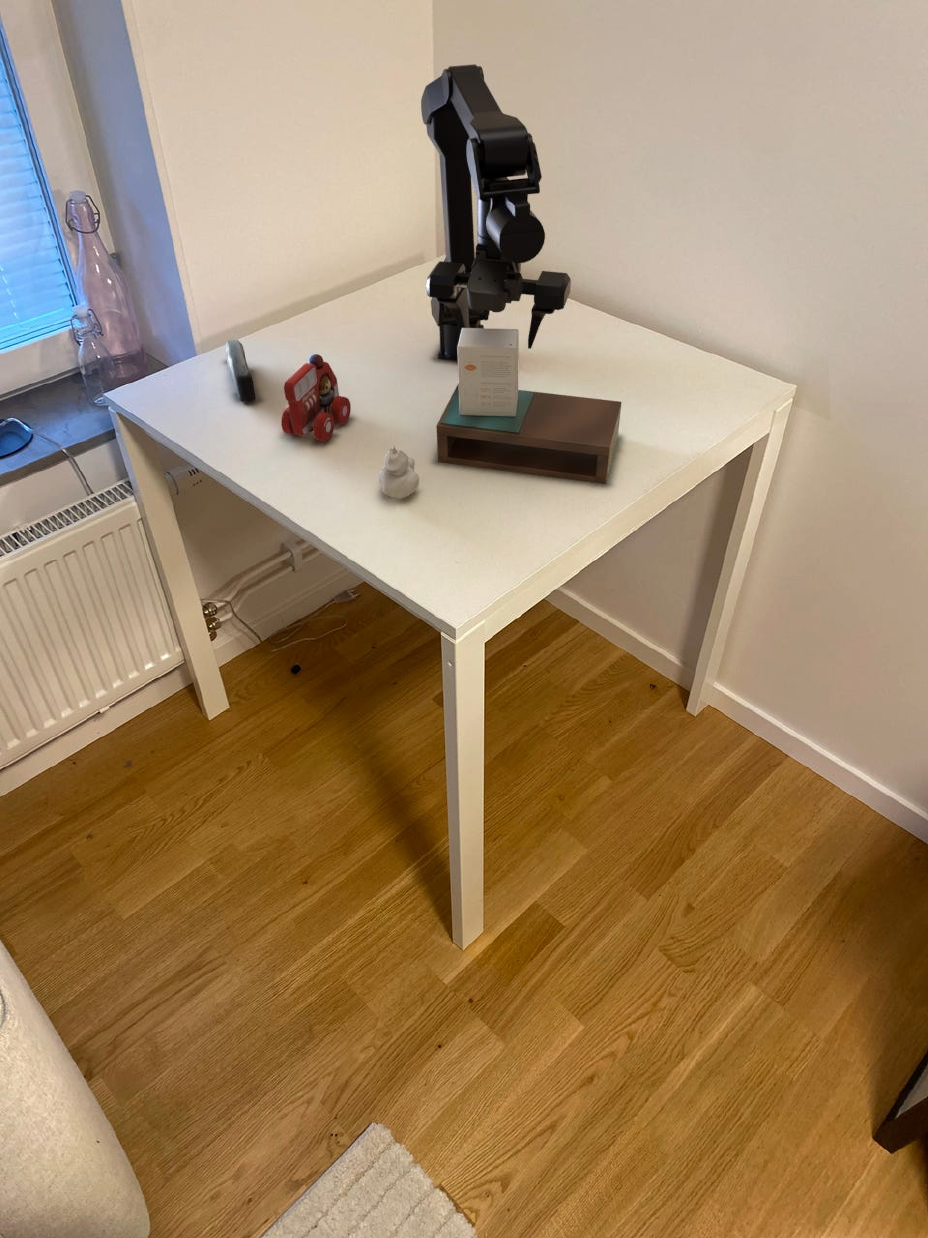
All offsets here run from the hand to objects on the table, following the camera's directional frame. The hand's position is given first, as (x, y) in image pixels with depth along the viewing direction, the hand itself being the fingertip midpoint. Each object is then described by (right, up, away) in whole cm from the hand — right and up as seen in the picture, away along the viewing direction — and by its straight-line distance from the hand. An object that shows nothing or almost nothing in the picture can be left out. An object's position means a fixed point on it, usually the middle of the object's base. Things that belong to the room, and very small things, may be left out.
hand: (498, 343), depth 131 cm
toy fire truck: (-27, -10, +9) cm, 30 cm away
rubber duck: (-13, -21, -3) cm, 25 cm away
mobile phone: (-41, 0, +19) cm, 45 cm away
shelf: (+5, -14, +4) cm, 15 cm away
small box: (-1, -9, +1) cm, 9 cm away
